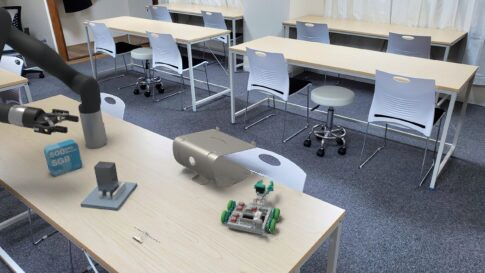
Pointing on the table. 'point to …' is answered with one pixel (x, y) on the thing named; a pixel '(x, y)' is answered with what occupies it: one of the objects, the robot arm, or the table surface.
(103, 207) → the pin tray
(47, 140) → the table surface
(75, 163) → the data package
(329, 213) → the table surface
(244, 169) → the curved metal cover
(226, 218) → the robot kit
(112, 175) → the dark grey rectangular block
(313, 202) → the table surface
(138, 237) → the picture light
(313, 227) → the table surface
